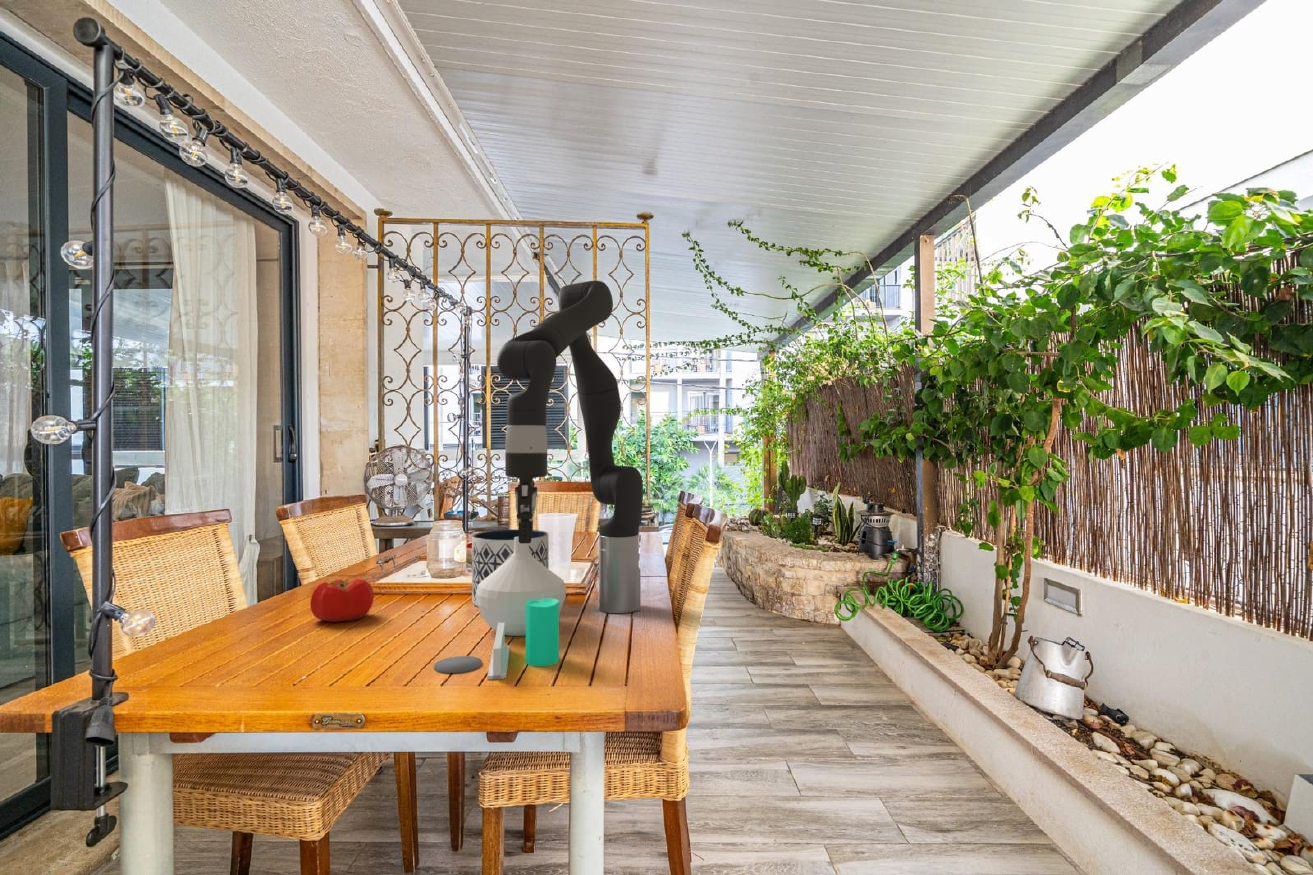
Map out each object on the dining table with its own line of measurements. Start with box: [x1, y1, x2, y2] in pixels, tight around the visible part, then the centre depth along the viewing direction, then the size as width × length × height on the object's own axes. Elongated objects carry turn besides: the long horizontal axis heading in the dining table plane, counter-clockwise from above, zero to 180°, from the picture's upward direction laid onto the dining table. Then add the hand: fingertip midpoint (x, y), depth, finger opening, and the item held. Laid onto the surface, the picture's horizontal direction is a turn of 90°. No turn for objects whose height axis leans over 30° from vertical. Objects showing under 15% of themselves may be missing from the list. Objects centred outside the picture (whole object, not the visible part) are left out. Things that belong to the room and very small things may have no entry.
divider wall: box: [487, 623, 510, 680], centre depth 120 cm, size 3×16×5 cm, turn 10°
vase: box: [476, 537, 567, 637], centre depth 141 cm, size 18×18×19 cm
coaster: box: [433, 655, 483, 675], centre depth 118 cm, size 8×8×1 cm
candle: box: [525, 593, 560, 667], centre depth 121 cm, size 6×6×12 cm
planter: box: [471, 528, 550, 607], centre depth 165 cm, size 18×18×16 cm
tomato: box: [309, 578, 375, 623], centre depth 150 cm, size 13×12×8 cm
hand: (526, 539), depth 123 cm, fingers open, 8 cm apart
